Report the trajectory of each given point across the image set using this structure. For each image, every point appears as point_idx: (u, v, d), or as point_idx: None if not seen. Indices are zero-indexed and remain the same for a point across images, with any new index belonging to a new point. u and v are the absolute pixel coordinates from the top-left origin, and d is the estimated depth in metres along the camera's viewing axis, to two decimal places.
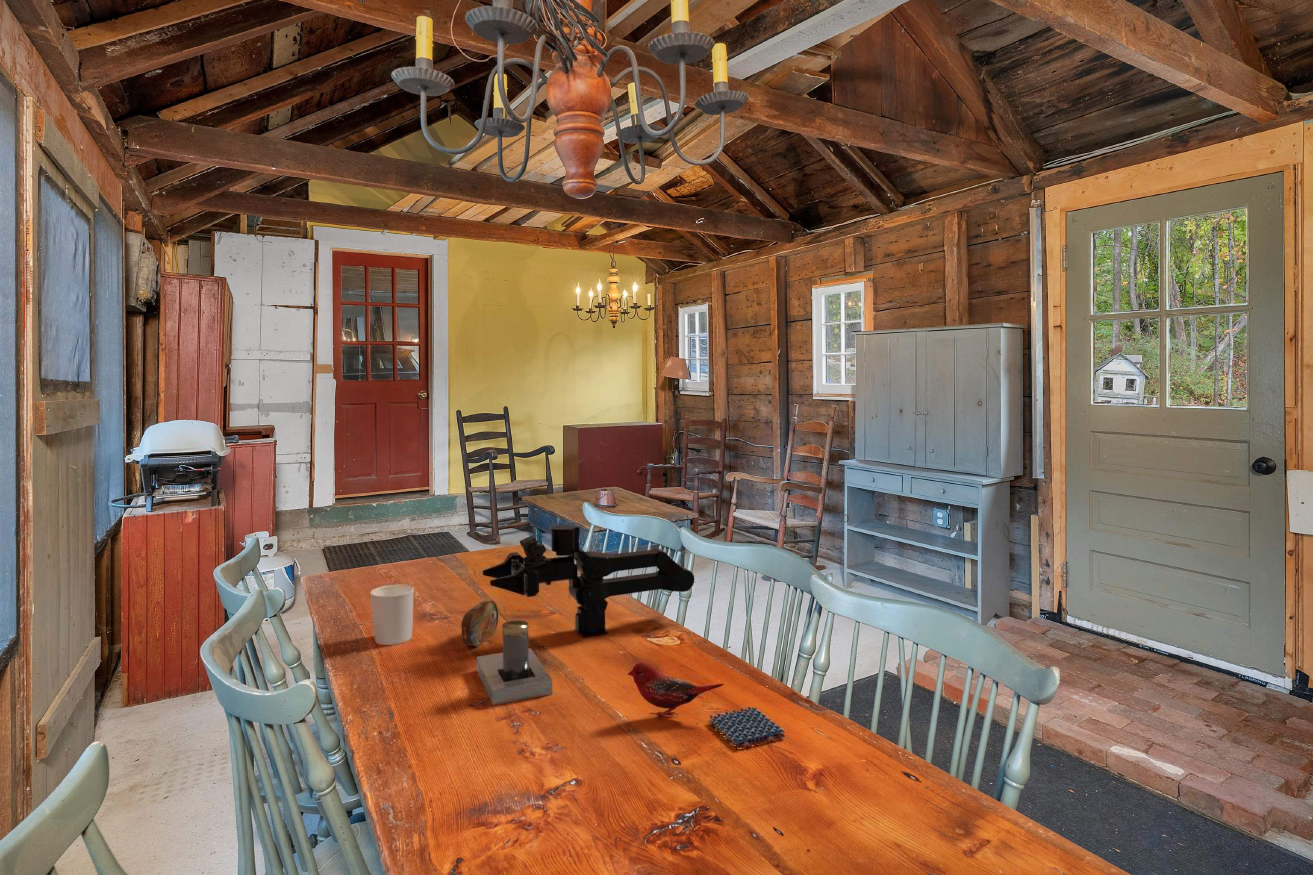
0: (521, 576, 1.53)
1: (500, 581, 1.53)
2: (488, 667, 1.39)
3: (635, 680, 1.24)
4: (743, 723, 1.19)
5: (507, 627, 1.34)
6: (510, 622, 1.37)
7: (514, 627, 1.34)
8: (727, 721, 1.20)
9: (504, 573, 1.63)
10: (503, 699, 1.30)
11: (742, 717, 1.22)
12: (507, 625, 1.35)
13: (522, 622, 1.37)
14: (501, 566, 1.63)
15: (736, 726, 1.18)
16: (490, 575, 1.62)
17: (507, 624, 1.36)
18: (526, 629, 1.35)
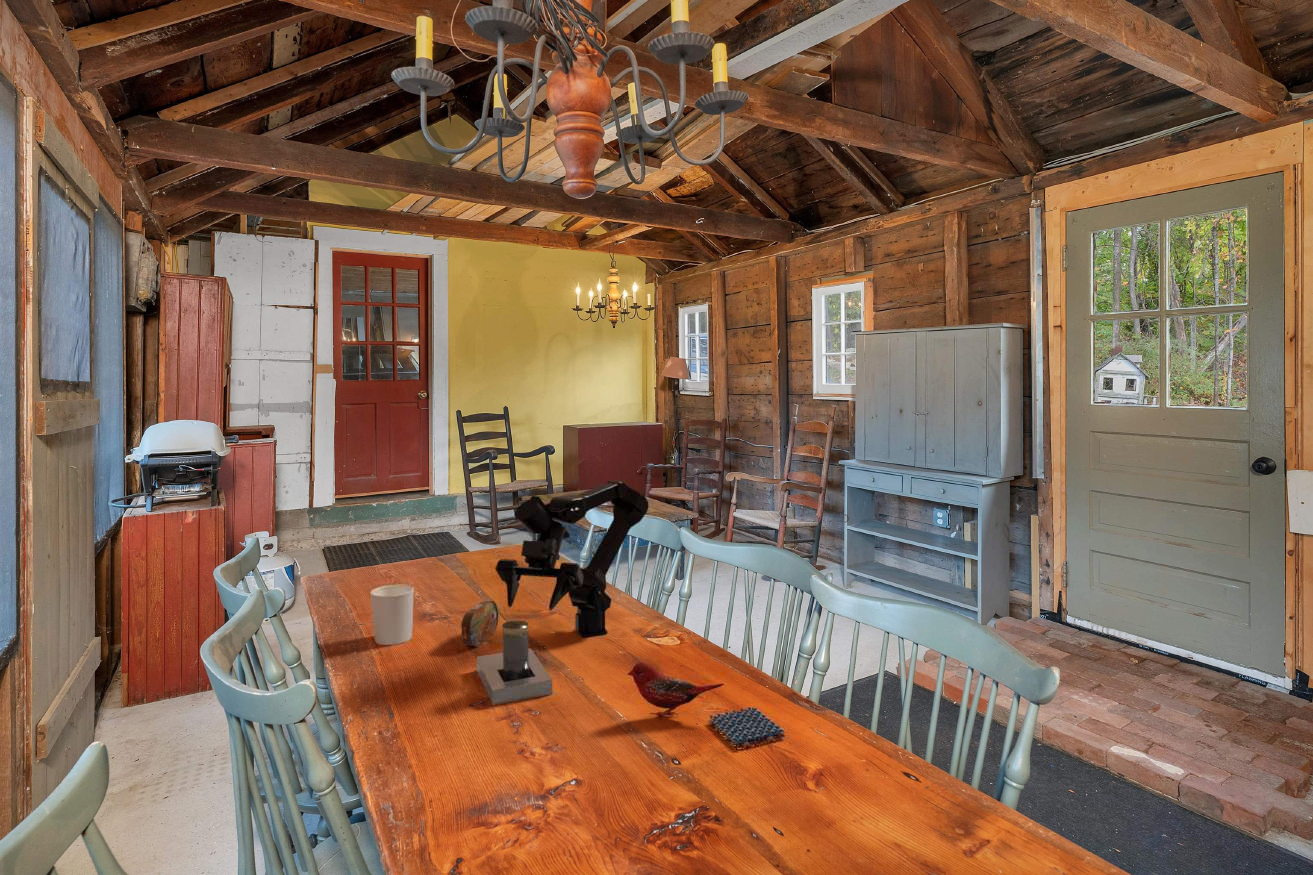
0: (567, 579, 1.46)
1: (556, 599, 1.44)
2: (488, 667, 1.39)
3: (635, 680, 1.24)
4: (743, 723, 1.19)
5: (507, 627, 1.34)
6: (510, 622, 1.37)
7: (514, 627, 1.34)
8: (727, 721, 1.20)
9: (515, 587, 1.49)
10: (503, 699, 1.30)
11: (742, 717, 1.22)
12: (507, 625, 1.35)
13: (522, 622, 1.37)
14: (512, 585, 1.47)
15: (736, 726, 1.18)
16: (513, 600, 1.47)
17: (507, 624, 1.36)
18: (526, 629, 1.35)
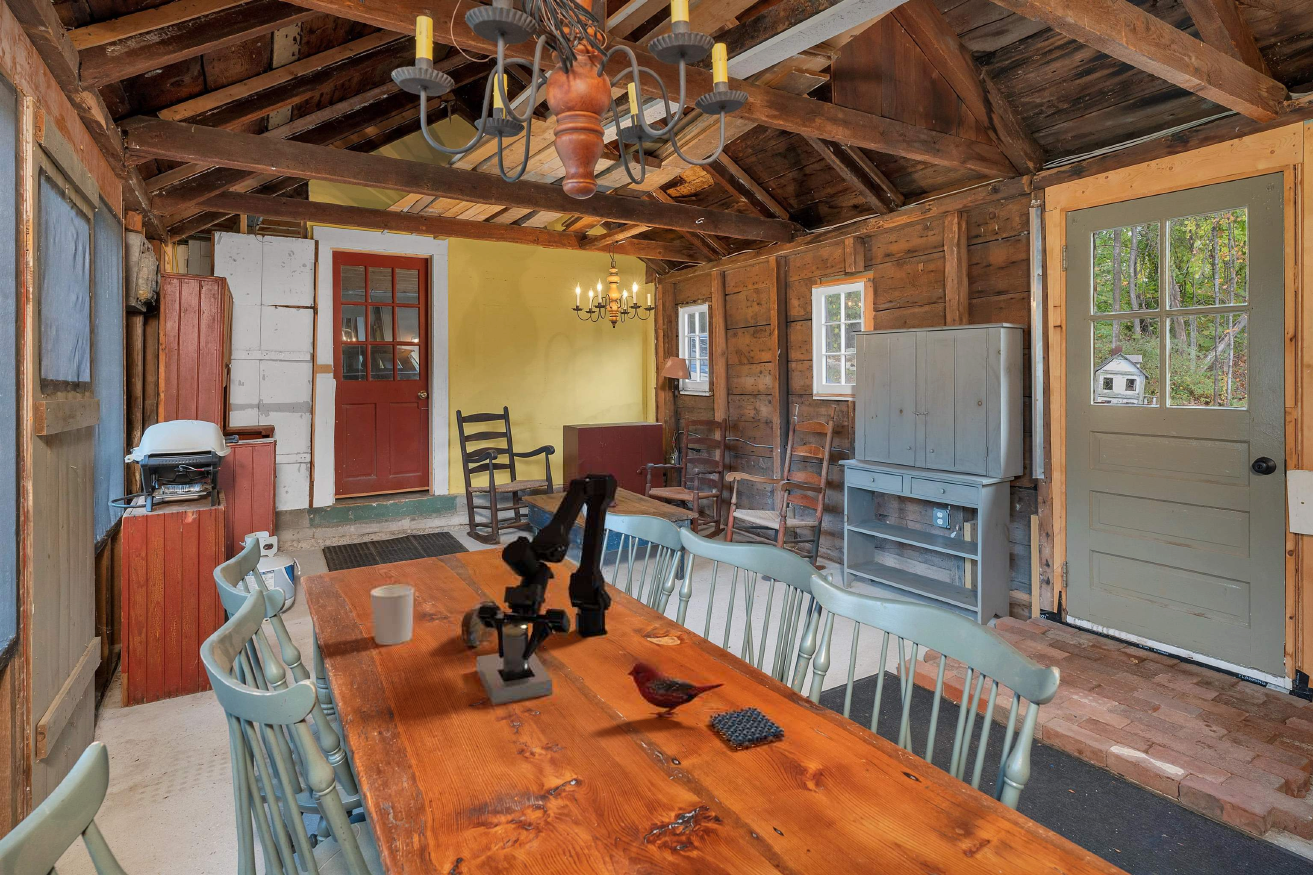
0: (544, 626, 1.37)
1: (532, 648, 1.35)
2: (488, 667, 1.39)
3: (635, 680, 1.24)
4: (743, 723, 1.19)
5: (507, 627, 1.34)
6: (510, 622, 1.37)
7: (514, 627, 1.34)
8: (727, 721, 1.20)
9: None
10: (503, 699, 1.30)
11: (742, 717, 1.22)
12: (507, 625, 1.35)
13: (522, 622, 1.37)
14: None
15: (736, 726, 1.18)
16: None
17: (507, 624, 1.36)
18: (526, 629, 1.35)
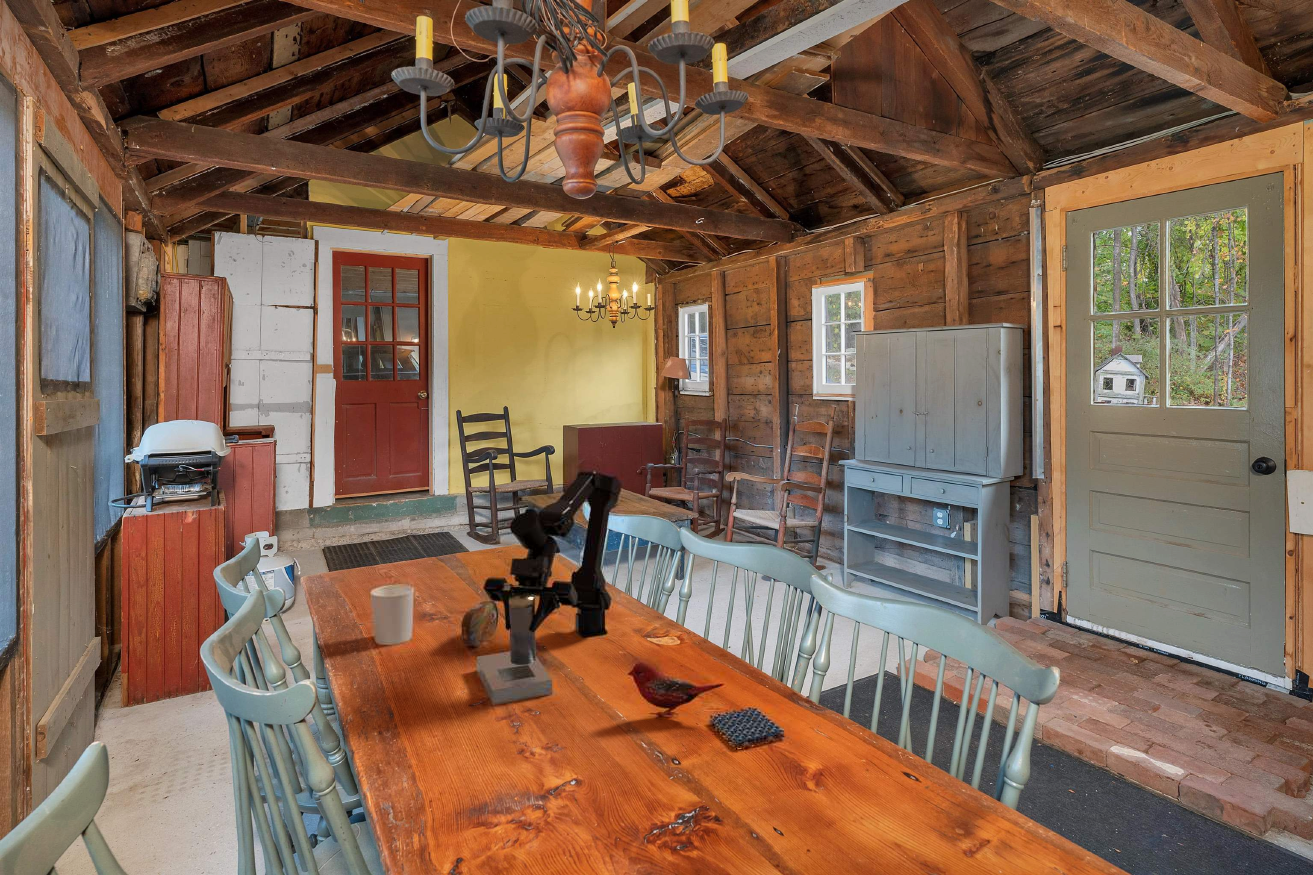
0: (551, 599, 1.37)
1: (538, 620, 1.35)
2: (488, 667, 1.39)
3: (635, 680, 1.24)
4: (743, 723, 1.19)
5: (514, 598, 1.34)
6: (517, 594, 1.37)
7: (520, 599, 1.34)
8: (727, 721, 1.20)
9: None
10: (503, 699, 1.30)
11: (742, 717, 1.22)
12: (514, 597, 1.35)
13: (529, 594, 1.37)
14: None
15: (736, 726, 1.18)
16: None
17: (514, 596, 1.35)
18: (533, 601, 1.35)
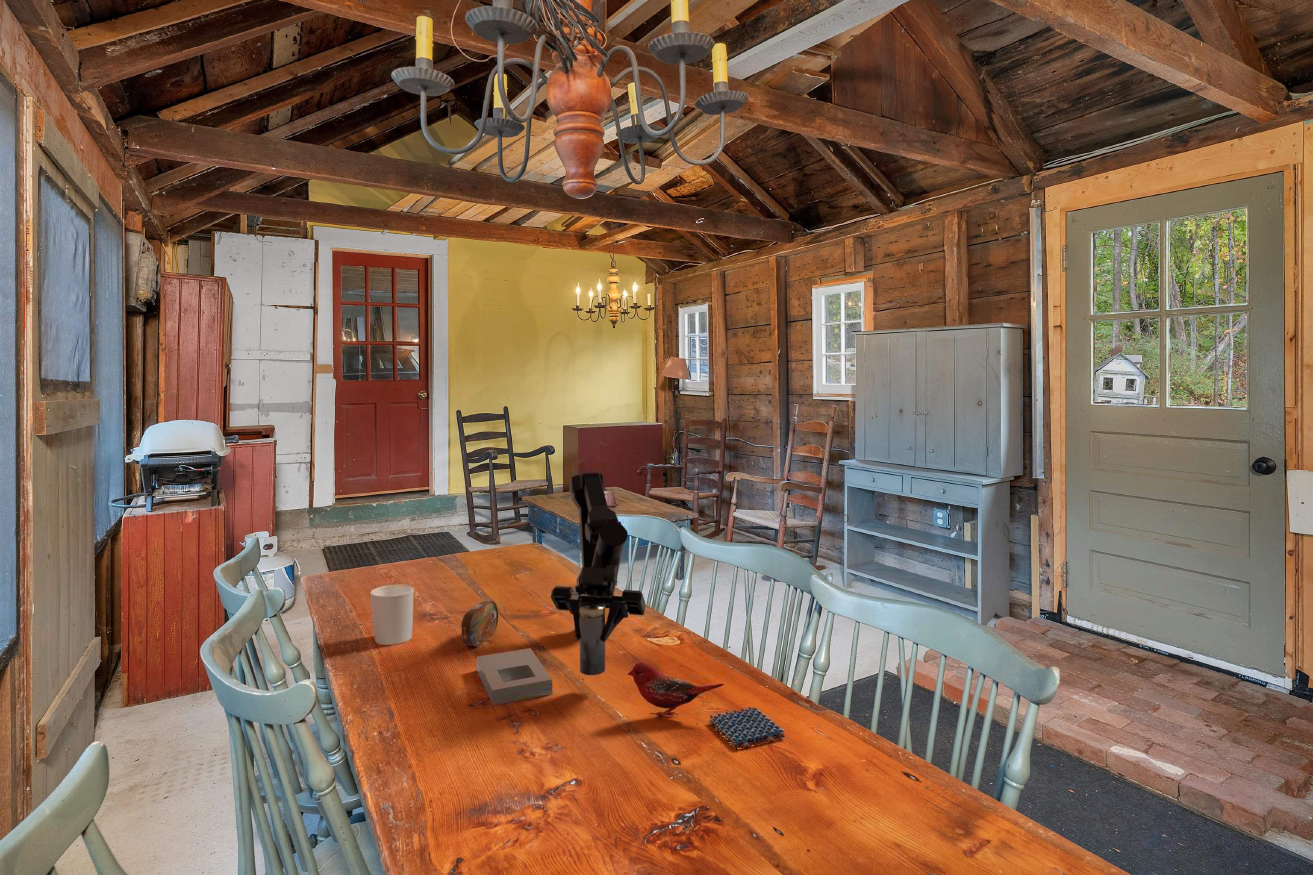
0: (621, 608, 1.35)
1: (609, 630, 1.33)
2: (488, 667, 1.39)
3: (635, 680, 1.24)
4: (743, 723, 1.19)
5: (585, 608, 1.32)
6: (586, 603, 1.35)
7: (592, 608, 1.32)
8: (727, 721, 1.20)
9: None
10: (503, 699, 1.30)
11: (742, 717, 1.22)
12: (584, 606, 1.33)
13: (598, 603, 1.35)
14: (579, 615, 1.36)
15: (736, 726, 1.18)
16: None
17: (584, 605, 1.34)
18: (604, 610, 1.33)
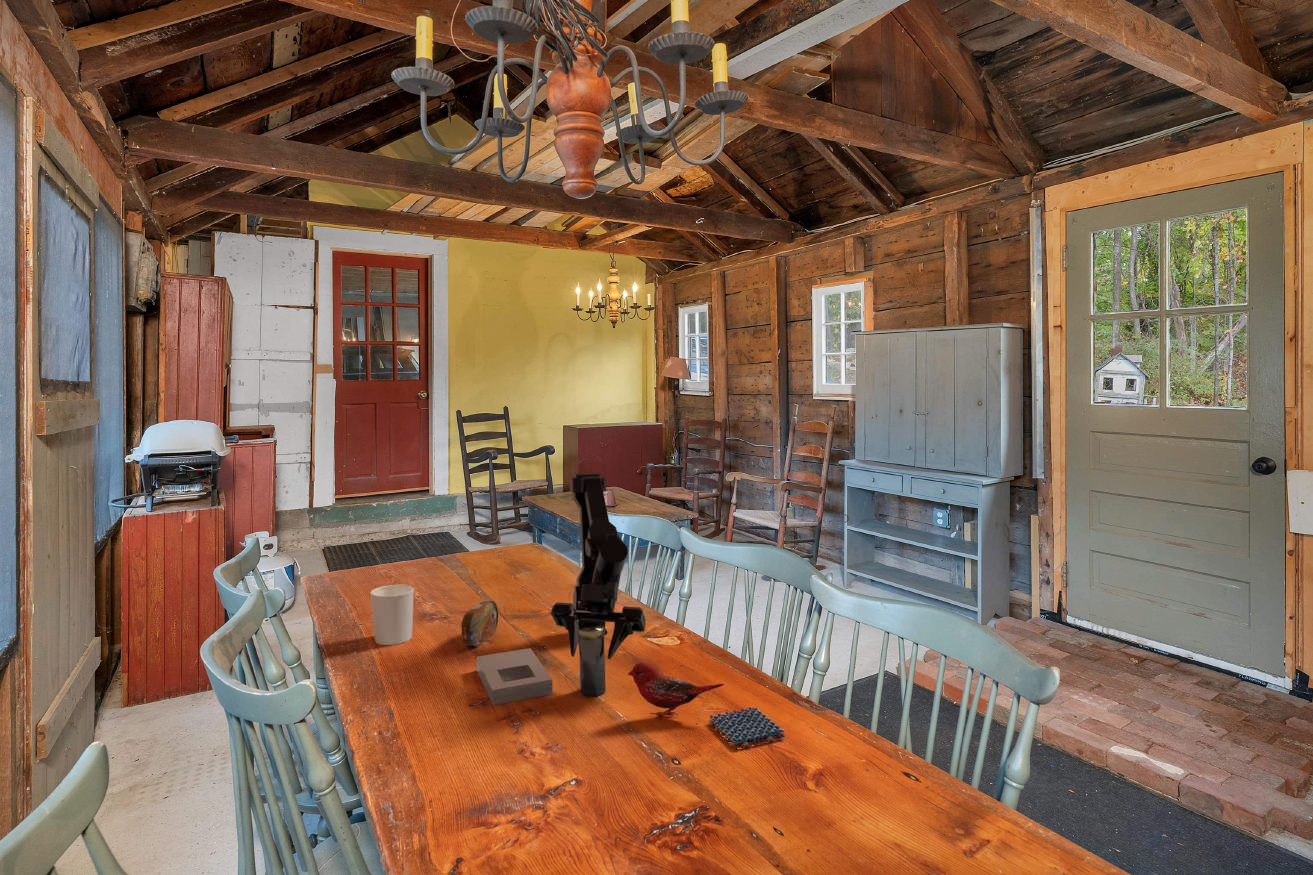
0: (626, 625, 1.35)
1: (614, 647, 1.33)
2: (488, 667, 1.39)
3: (635, 680, 1.24)
4: (743, 723, 1.19)
5: (584, 630, 1.33)
6: (585, 625, 1.35)
7: (591, 630, 1.32)
8: (727, 721, 1.20)
9: (577, 633, 1.38)
10: (503, 699, 1.30)
11: (742, 717, 1.22)
12: (583, 628, 1.34)
13: (597, 625, 1.35)
14: (575, 632, 1.36)
15: (736, 726, 1.18)
16: (576, 648, 1.36)
17: (583, 627, 1.34)
18: (603, 632, 1.33)
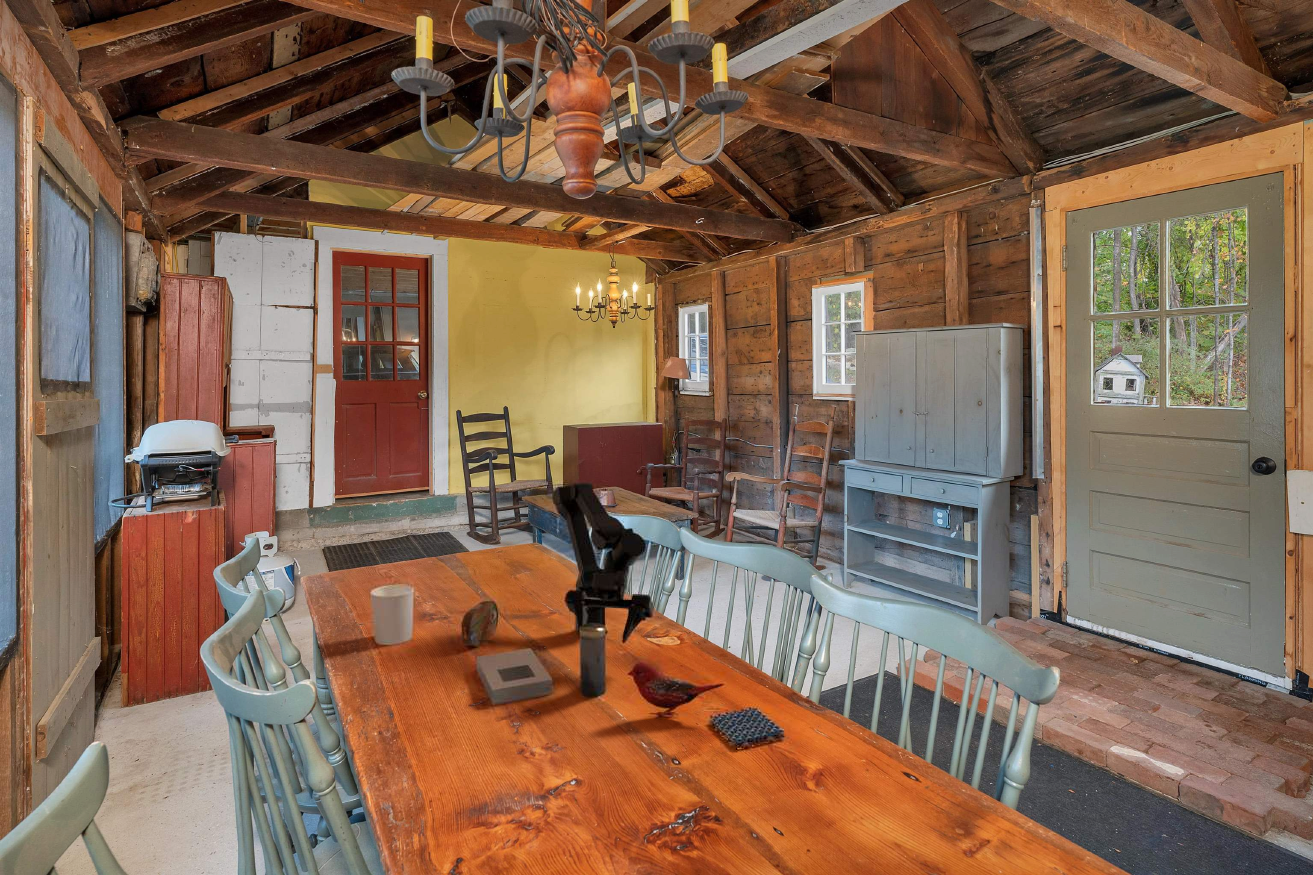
0: (639, 611, 1.44)
1: (628, 632, 1.42)
2: (488, 667, 1.39)
3: (635, 680, 1.24)
4: (743, 723, 1.19)
5: (585, 630, 1.33)
6: (587, 625, 1.35)
7: (592, 630, 1.32)
8: (727, 721, 1.20)
9: (585, 618, 1.47)
10: (503, 699, 1.30)
11: (742, 717, 1.22)
12: (585, 628, 1.34)
13: (599, 625, 1.35)
14: (583, 617, 1.45)
15: (736, 726, 1.18)
16: None
17: (584, 627, 1.34)
18: (604, 632, 1.33)
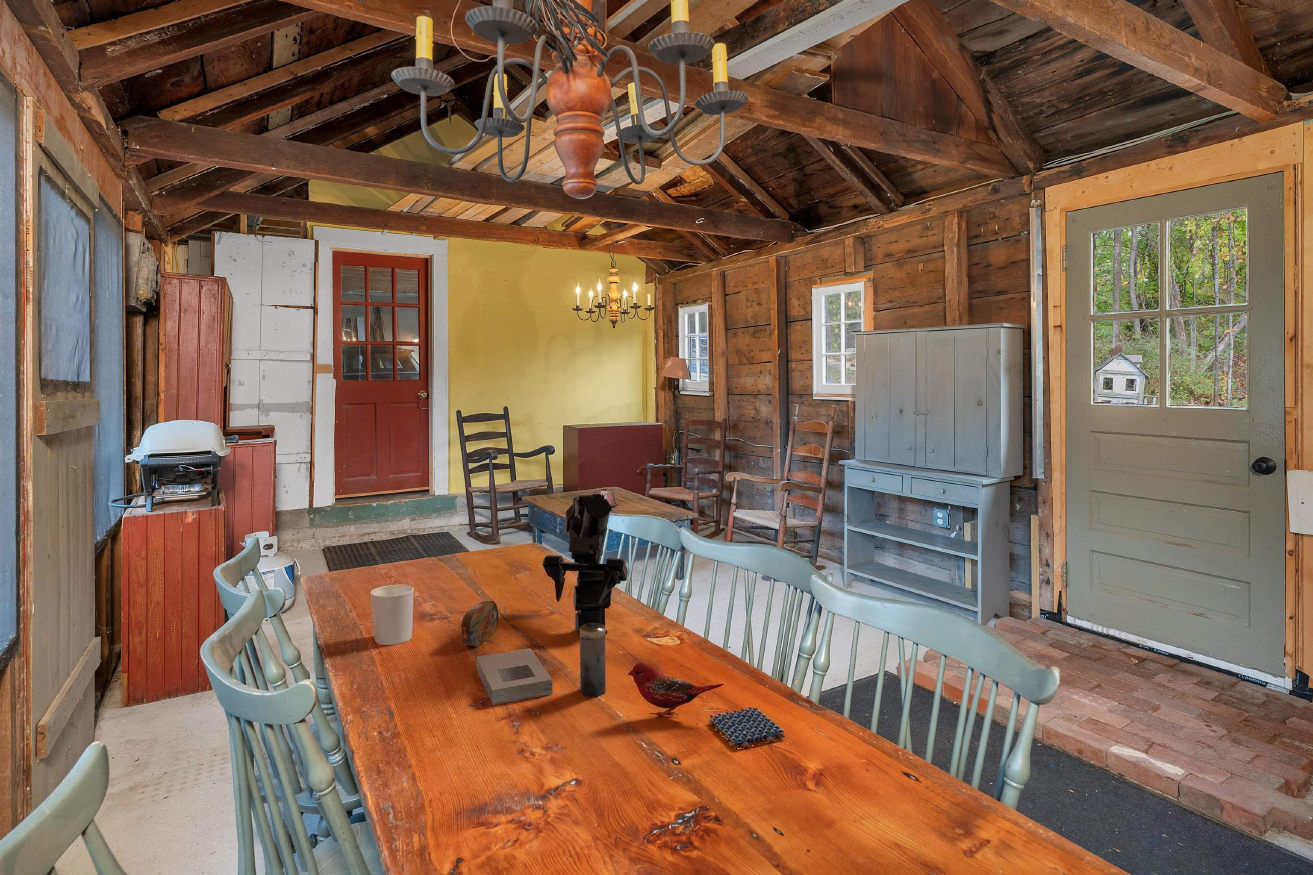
0: (614, 574, 1.50)
1: (603, 593, 1.48)
2: (488, 667, 1.39)
3: (635, 680, 1.24)
4: (743, 723, 1.19)
5: (585, 630, 1.33)
6: (587, 625, 1.35)
7: (592, 630, 1.32)
8: (727, 721, 1.20)
9: (562, 582, 1.53)
10: (503, 699, 1.30)
11: (742, 717, 1.22)
12: (585, 628, 1.34)
13: (599, 625, 1.35)
14: (560, 580, 1.51)
15: (736, 726, 1.18)
16: None
17: (584, 627, 1.34)
18: (604, 632, 1.33)
